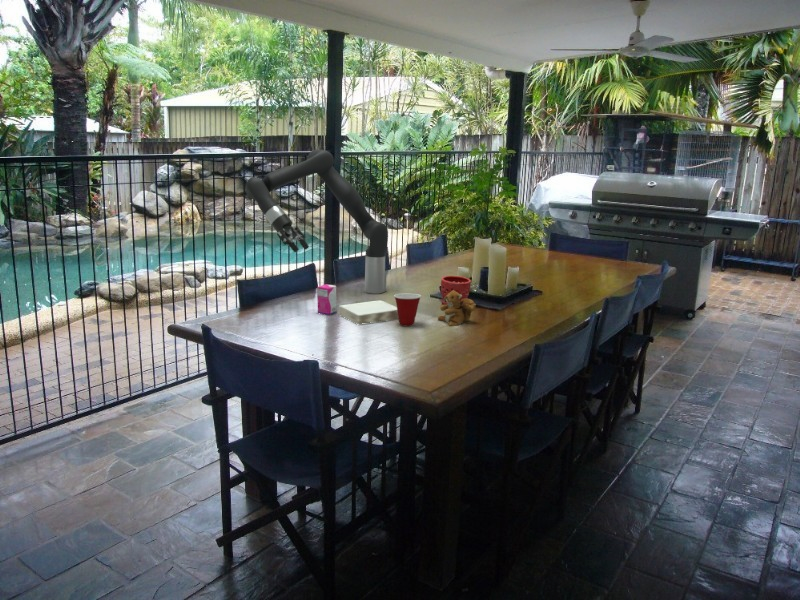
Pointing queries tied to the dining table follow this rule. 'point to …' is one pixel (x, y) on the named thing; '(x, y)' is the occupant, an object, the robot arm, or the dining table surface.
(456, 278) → the plant pot
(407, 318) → the plastic cup
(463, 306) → the stuffed squirrel
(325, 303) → the supplement box
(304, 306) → the dining table surface
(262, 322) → the dining table surface
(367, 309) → the slab
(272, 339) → the dining table surface
